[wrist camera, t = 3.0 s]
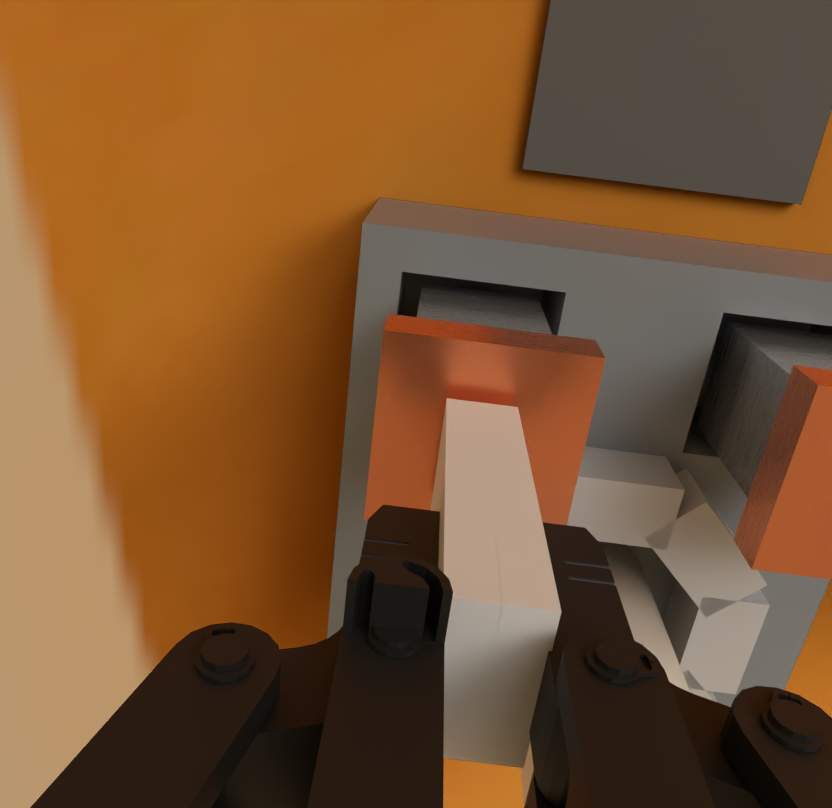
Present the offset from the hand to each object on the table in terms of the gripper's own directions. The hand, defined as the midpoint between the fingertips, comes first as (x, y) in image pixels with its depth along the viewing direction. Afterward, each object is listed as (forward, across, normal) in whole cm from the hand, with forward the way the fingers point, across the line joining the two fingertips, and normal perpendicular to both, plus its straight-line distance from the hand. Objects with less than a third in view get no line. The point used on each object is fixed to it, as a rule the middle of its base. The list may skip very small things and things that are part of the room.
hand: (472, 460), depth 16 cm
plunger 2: (+7, +9, 0) cm, 12 cm away
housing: (+11, +5, -4) cm, 13 cm away
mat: (+11, +6, +10) cm, 16 cm away
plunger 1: (+7, 0, 0) cm, 7 cm away
